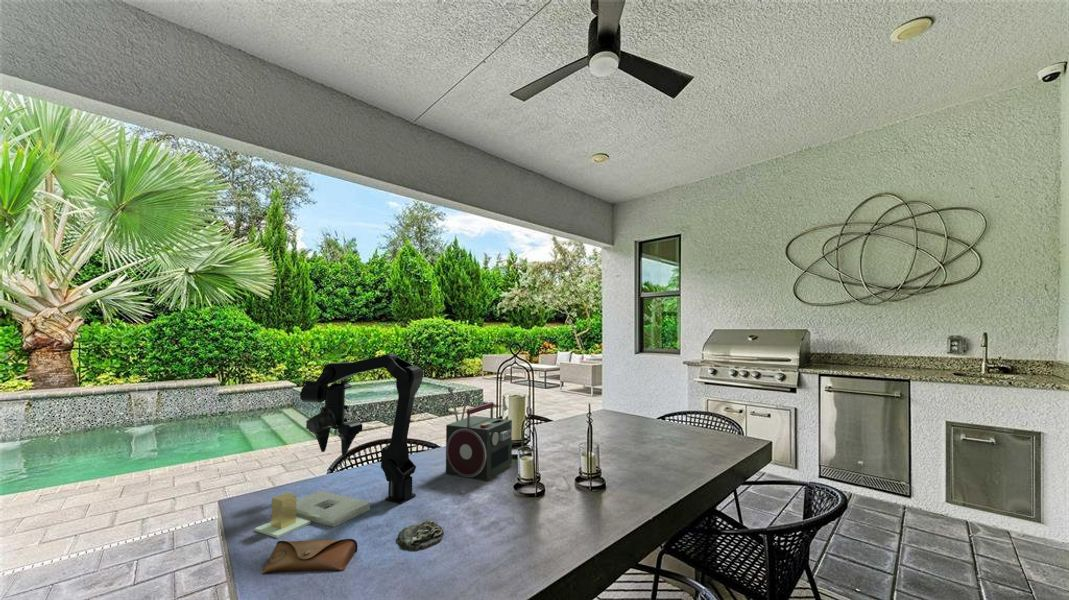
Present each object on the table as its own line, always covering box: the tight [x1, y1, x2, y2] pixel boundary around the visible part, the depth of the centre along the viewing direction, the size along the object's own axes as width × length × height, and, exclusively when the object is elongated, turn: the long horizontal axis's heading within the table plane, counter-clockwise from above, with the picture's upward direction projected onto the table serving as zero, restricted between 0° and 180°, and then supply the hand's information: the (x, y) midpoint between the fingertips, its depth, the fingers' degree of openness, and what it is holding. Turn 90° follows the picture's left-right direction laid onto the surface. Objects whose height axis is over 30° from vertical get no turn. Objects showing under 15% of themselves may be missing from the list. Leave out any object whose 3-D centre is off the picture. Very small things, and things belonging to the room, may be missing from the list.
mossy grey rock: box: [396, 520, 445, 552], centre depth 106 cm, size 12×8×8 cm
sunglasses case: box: [260, 538, 358, 575], centre depth 96 cm, size 18×7×7 cm
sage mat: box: [254, 517, 312, 539], centre depth 112 cm, size 9×9×1 cm
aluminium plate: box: [296, 490, 371, 528], centre depth 122 cm, size 20×12×2 cm, turn 64°
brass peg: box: [270, 492, 298, 529], centre depth 112 cm, size 4×4×7 cm
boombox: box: [445, 386, 513, 482], centre depth 157 cm, size 18×21×30 cm
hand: (333, 453), depth 136 cm, fingers open, 9 cm apart
